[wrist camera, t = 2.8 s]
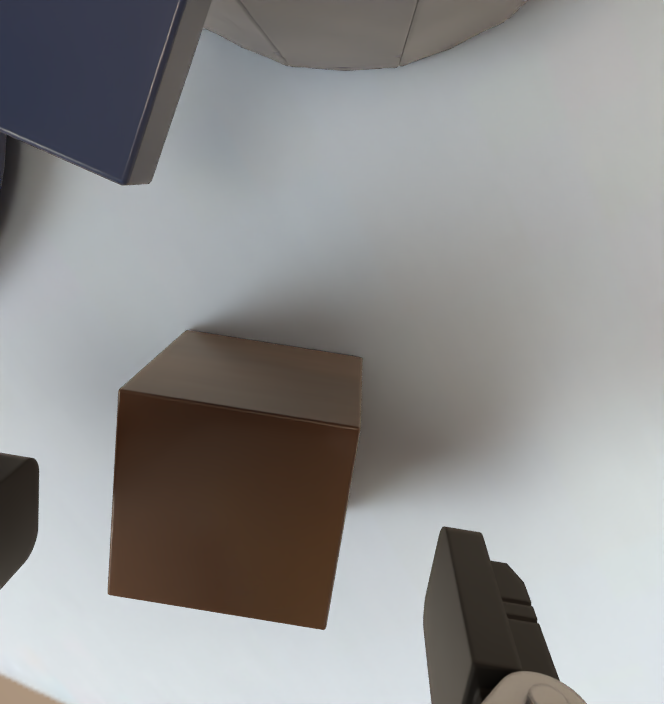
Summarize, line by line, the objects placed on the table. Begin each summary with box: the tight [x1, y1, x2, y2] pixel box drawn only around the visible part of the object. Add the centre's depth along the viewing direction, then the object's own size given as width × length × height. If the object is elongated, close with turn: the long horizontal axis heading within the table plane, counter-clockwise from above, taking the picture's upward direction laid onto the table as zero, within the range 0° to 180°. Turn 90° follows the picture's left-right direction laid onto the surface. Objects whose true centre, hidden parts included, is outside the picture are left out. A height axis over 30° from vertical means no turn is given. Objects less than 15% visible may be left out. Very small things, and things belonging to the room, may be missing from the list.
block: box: [108, 330, 363, 630], centre depth 15 cm, size 5×5×5 cm
